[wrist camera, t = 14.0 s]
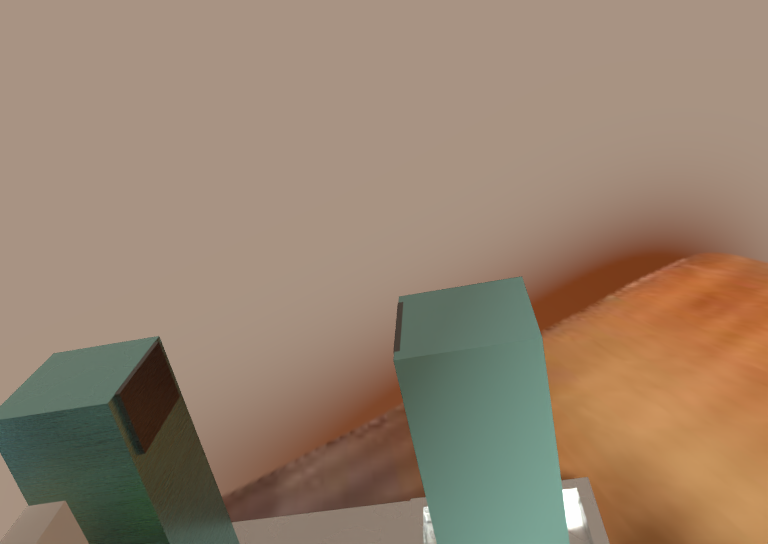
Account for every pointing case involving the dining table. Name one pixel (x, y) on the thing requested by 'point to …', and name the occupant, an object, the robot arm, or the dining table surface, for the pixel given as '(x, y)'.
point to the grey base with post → (174, 463)
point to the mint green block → (481, 414)
